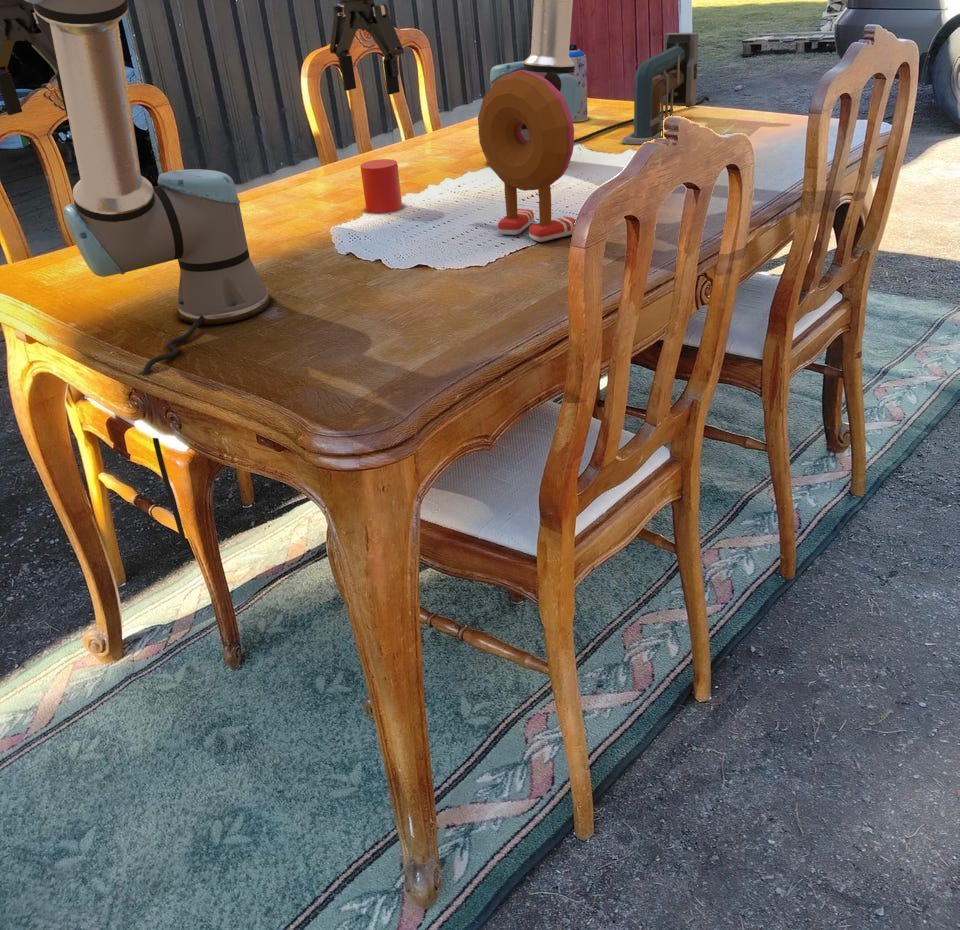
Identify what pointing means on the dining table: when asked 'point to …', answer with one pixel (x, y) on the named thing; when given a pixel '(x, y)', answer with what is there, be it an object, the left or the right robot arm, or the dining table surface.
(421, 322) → the dining table surface
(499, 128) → the toy
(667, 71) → the clamp
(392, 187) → the can
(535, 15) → the right robot arm
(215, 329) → the dining table surface
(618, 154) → the dining table surface
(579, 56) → the aerosol can
